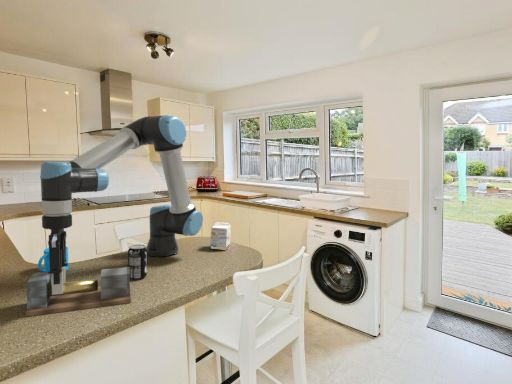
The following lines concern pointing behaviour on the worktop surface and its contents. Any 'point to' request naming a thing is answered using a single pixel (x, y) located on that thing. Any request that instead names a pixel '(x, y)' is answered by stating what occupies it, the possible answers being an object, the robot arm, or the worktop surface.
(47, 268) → the mug
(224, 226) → the ink box
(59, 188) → the robot arm
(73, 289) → the tube
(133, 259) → the beverage can
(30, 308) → the rig
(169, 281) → the worktop surface
